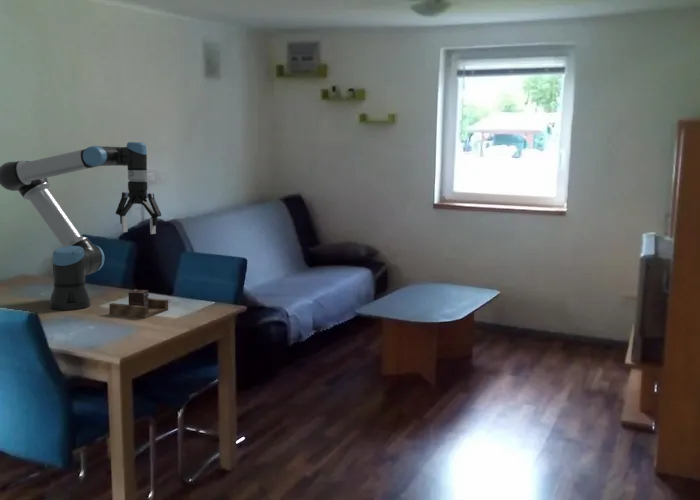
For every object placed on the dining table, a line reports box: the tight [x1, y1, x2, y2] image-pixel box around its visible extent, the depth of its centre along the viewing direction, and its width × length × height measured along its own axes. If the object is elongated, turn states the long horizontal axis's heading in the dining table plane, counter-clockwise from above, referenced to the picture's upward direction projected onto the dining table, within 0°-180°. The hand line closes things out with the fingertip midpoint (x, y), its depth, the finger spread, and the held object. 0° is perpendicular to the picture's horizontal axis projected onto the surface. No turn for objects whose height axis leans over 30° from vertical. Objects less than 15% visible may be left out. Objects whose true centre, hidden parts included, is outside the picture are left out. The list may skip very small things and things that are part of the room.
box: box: [127, 289, 150, 308], centre depth 265 cm, size 6×6×7 cm
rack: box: [108, 297, 169, 319], centre depth 266 cm, size 16×15×4 cm
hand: (138, 232), depth 281 cm, fingers open, 13 cm apart
